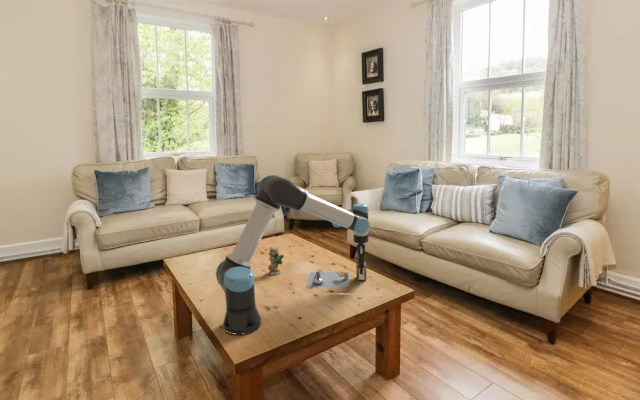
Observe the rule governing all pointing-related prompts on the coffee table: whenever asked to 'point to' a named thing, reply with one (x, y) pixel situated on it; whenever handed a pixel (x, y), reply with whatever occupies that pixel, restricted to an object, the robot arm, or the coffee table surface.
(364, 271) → the block
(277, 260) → the figurine
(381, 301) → the coffee table surface
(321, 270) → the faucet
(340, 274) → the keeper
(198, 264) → the coffee table surface
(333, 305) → the coffee table surface
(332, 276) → the board
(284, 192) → the robot arm
